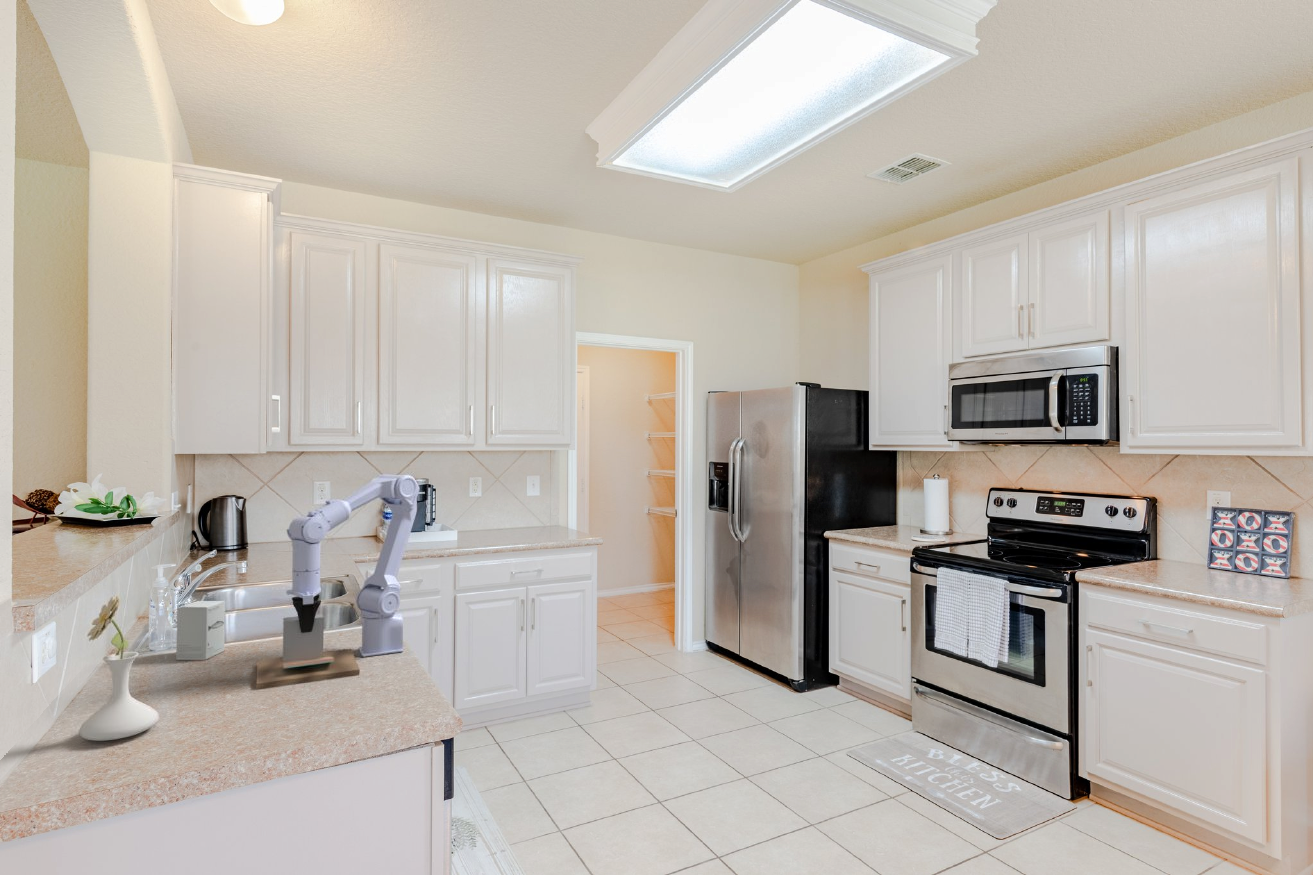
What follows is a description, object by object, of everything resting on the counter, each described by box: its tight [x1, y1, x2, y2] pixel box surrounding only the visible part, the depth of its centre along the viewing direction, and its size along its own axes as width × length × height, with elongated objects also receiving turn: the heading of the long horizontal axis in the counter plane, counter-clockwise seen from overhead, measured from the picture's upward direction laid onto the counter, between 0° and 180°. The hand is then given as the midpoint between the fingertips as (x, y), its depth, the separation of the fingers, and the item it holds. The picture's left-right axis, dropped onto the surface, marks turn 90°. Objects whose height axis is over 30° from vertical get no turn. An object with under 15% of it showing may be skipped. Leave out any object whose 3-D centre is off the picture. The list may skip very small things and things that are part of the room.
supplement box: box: [175, 600, 226, 661], centre depth 171 cm, size 7×7×13 cm
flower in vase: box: [78, 595, 160, 742], centre depth 124 cm, size 13×11×25 cm
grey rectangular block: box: [282, 613, 325, 662], centre depth 159 cm, size 8×4×9 cm, turn 119°
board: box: [256, 648, 361, 690], centre depth 160 cm, size 20×18×1 cm
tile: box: [283, 657, 334, 669], centre depth 158 cm, size 10×8×1 cm
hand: (306, 629), depth 159 cm, fingers closed on grey rectangular block, 3 cm apart
